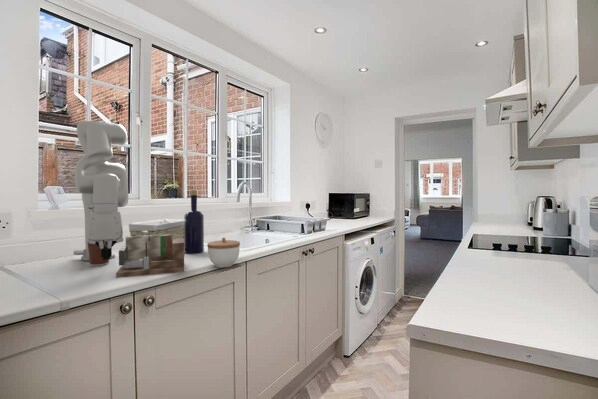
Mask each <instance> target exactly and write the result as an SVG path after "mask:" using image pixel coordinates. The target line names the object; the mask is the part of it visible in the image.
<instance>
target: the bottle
mask: <svg viewBox="0 0 598 399" xmlns="http://www.w3.org/2000/svg"><path fill="white" fill-rule="evenodd" d="M189 196H190V211H187V212H186V213H185V214H184V216H183V217H184V219H183V220H184V237H185V247H184V254H186V255H198V254H202V253H205V246H204V245H205V238H204V237H205V235H204V234H205V231H204V230H205V229H204V228H205V226H204V225H205V224H204V223H205V222H204V218H205V217H204V214H203V212H201V211H199V210H198V206H197V205H198V190H197V189H196V190H193V189H191V190H190V195H189Z"/></svg>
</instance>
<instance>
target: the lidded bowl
mask: <svg viewBox="0 0 598 399" xmlns="http://www.w3.org/2000/svg"><path fill="white" fill-rule="evenodd" d="M240 245H241V243H240V241H238V240H233V239H232V240H231V239H226V237H222V238H221V239H220V240H214V241H209V242H207V254H208V259H209V261H210V262H211V263H212V264H213V265H214V267H216V268H229V267H232V266H233V265H234V264H235V263H236V262H237V260H238V258H239V256H240V255H239V254H240Z"/></svg>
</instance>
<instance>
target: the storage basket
mask: <svg viewBox="0 0 598 399" xmlns="http://www.w3.org/2000/svg"><path fill="white" fill-rule="evenodd" d="M128 229H129V235H130V236H150V235H173V234H176V238H184V248H185V237H184V219H176V218H175V219H174V218H172V219H171V218H161V219H153V220H145V221H137V222H129V224H128Z"/></svg>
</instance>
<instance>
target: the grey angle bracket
mask: <svg viewBox="0 0 598 399" xmlns="http://www.w3.org/2000/svg"><path fill="white" fill-rule="evenodd" d="M122 265H125V269H127V268H140V267H144V258H138V259H128V246H126V245H125V246H122V247H121V248H120V249H118V266H120V267H121V266H122Z"/></svg>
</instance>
